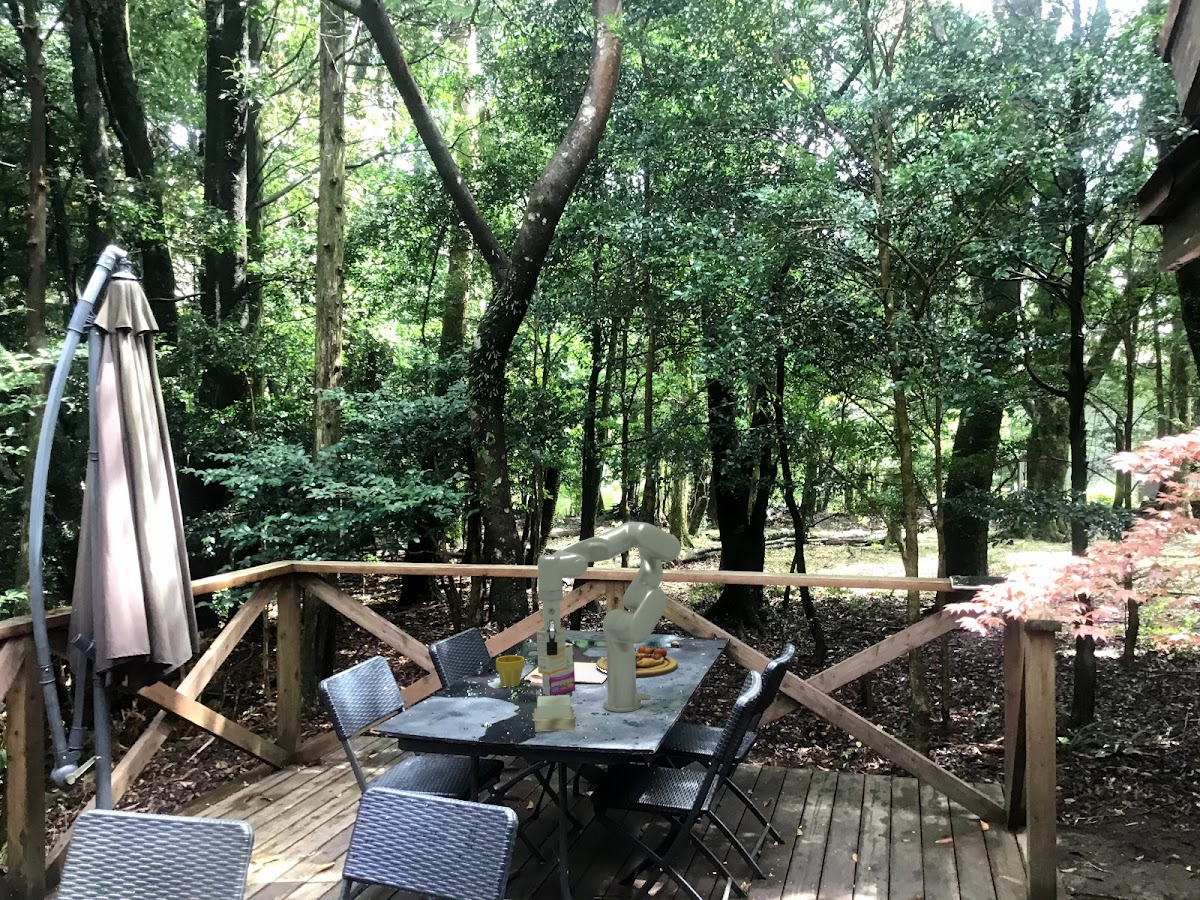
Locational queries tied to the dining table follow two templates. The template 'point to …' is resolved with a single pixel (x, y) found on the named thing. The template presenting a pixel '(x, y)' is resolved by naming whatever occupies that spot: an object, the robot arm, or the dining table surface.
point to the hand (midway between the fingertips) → (551, 651)
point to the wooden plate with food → (648, 662)
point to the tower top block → (553, 707)
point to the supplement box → (551, 662)
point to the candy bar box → (561, 676)
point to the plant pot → (510, 669)
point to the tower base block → (554, 723)
